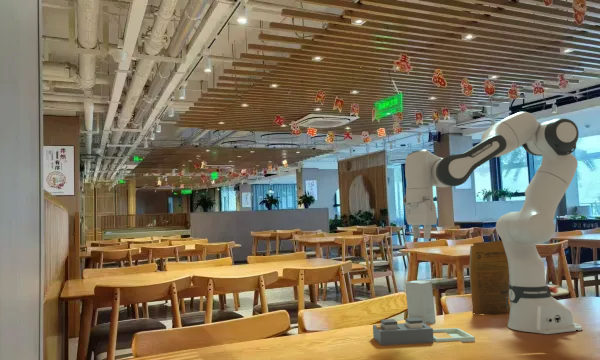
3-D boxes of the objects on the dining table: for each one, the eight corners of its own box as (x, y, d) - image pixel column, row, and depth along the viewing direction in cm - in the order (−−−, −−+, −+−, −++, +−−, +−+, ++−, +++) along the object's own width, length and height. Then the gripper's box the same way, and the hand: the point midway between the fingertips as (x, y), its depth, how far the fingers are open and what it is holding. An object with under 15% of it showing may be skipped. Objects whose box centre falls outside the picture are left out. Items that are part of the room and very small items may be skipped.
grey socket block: (423, 338, 149) (422, 320, 150) (433, 345, 140) (432, 326, 141) (373, 341, 148) (372, 322, 148) (381, 348, 139) (380, 329, 139)
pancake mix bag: (521, 313, 181) (516, 240, 184) (475, 316, 178) (470, 242, 181) (510, 310, 188) (506, 239, 190) (466, 313, 185) (461, 241, 187)
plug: (418, 337, 147) (417, 317, 147) (423, 340, 143) (422, 320, 143) (406, 338, 146) (405, 318, 147) (410, 341, 142) (409, 321, 143)
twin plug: (394, 338, 146) (393, 319, 147) (398, 342, 142) (397, 321, 143) (381, 339, 146) (380, 319, 146) (385, 342, 142) (384, 322, 142)
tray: (458, 333, 154) (457, 327, 154) (475, 343, 142) (474, 336, 142) (422, 335, 153) (422, 329, 153) (436, 345, 141) (436, 339, 141)
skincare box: (436, 323, 170) (433, 281, 171) (424, 326, 166) (422, 283, 167) (418, 319, 176) (416, 279, 178) (406, 322, 173) (404, 281, 174)
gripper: (440, 195, 151) (443, 239, 150) (418, 198, 171) (420, 237, 170) (421, 196, 150) (423, 240, 149) (401, 199, 171) (403, 237, 169)
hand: (422, 238), depth 160 cm, fingers open, 8 cm apart
